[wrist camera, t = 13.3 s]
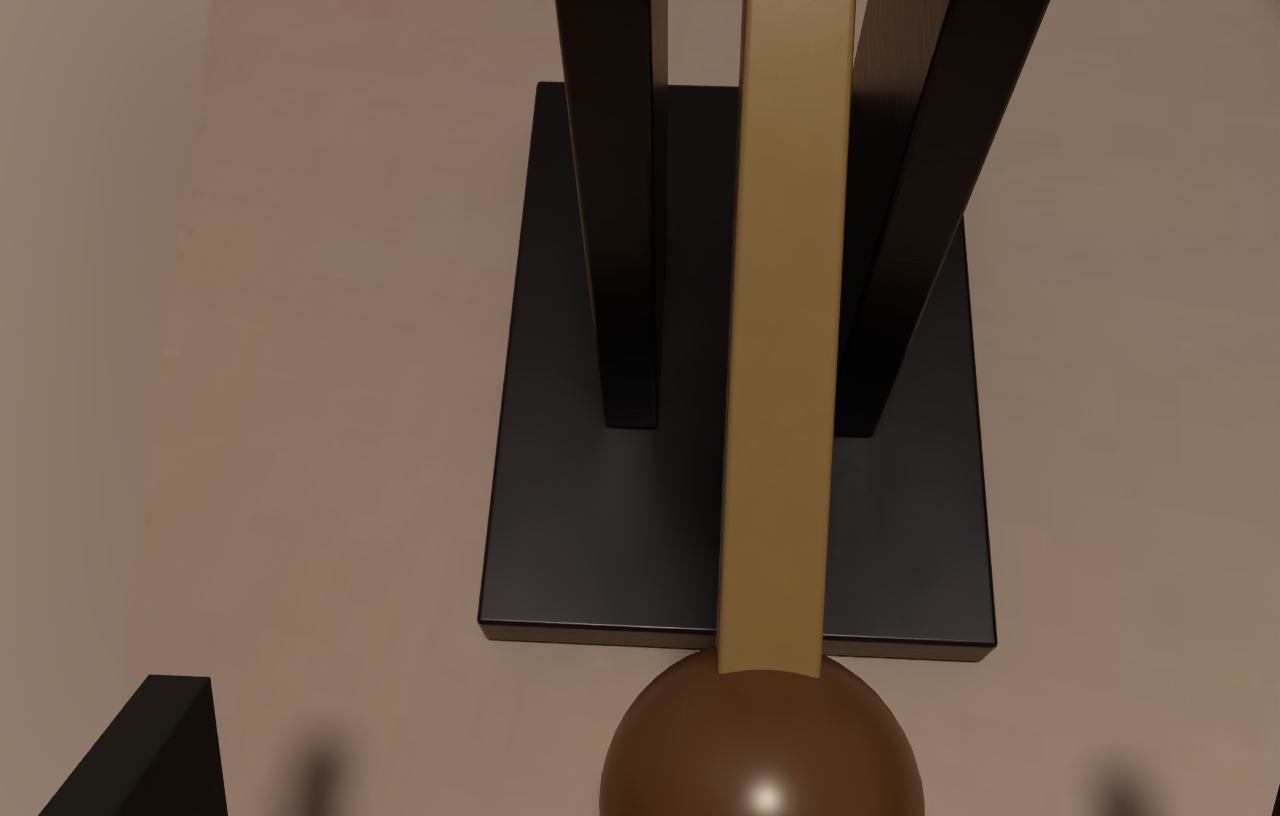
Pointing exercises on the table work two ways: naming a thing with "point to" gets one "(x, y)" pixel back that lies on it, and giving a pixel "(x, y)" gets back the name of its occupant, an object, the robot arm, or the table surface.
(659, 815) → the switch lever
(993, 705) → the table surface
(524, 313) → the switch bracket
